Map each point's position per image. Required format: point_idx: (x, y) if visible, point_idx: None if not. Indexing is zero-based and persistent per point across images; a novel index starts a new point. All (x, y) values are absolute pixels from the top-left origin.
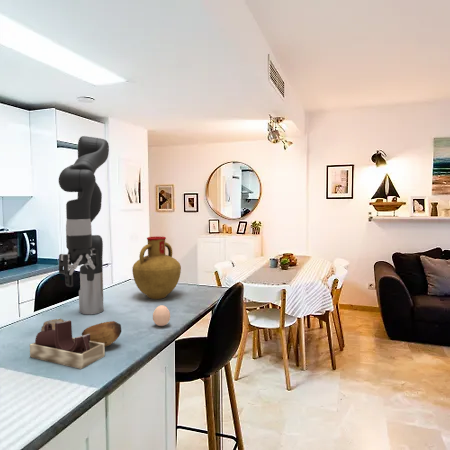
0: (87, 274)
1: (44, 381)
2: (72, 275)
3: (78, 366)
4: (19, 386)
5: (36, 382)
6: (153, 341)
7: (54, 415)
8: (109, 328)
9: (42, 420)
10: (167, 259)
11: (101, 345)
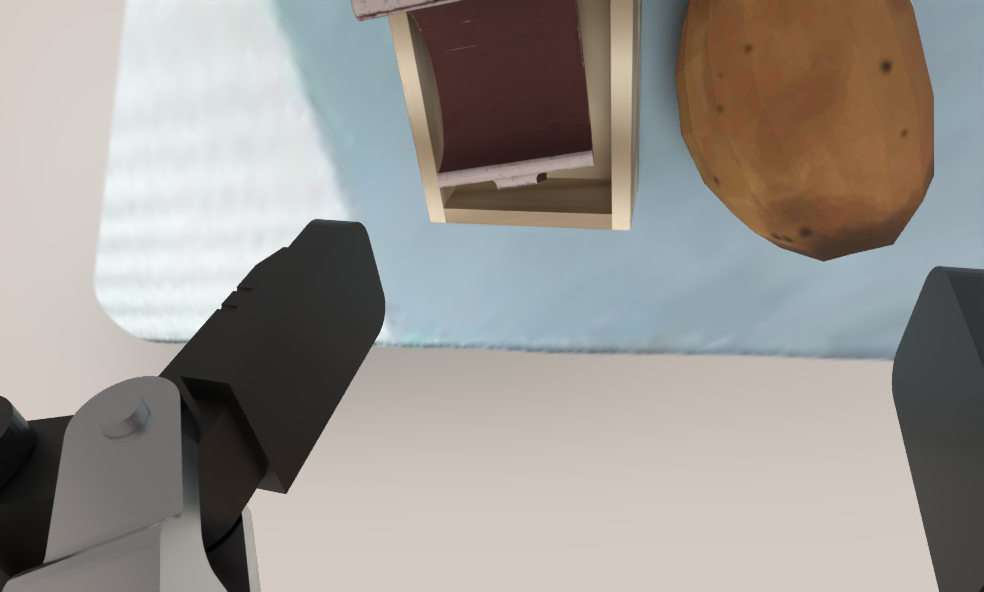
0: (975, 387)
1: (280, 118)
2: (279, 483)
3: None
4: (183, 51)
5: (251, 91)
6: None
7: None
8: (763, 221)
9: (187, 307)
10: None
11: (601, 227)
